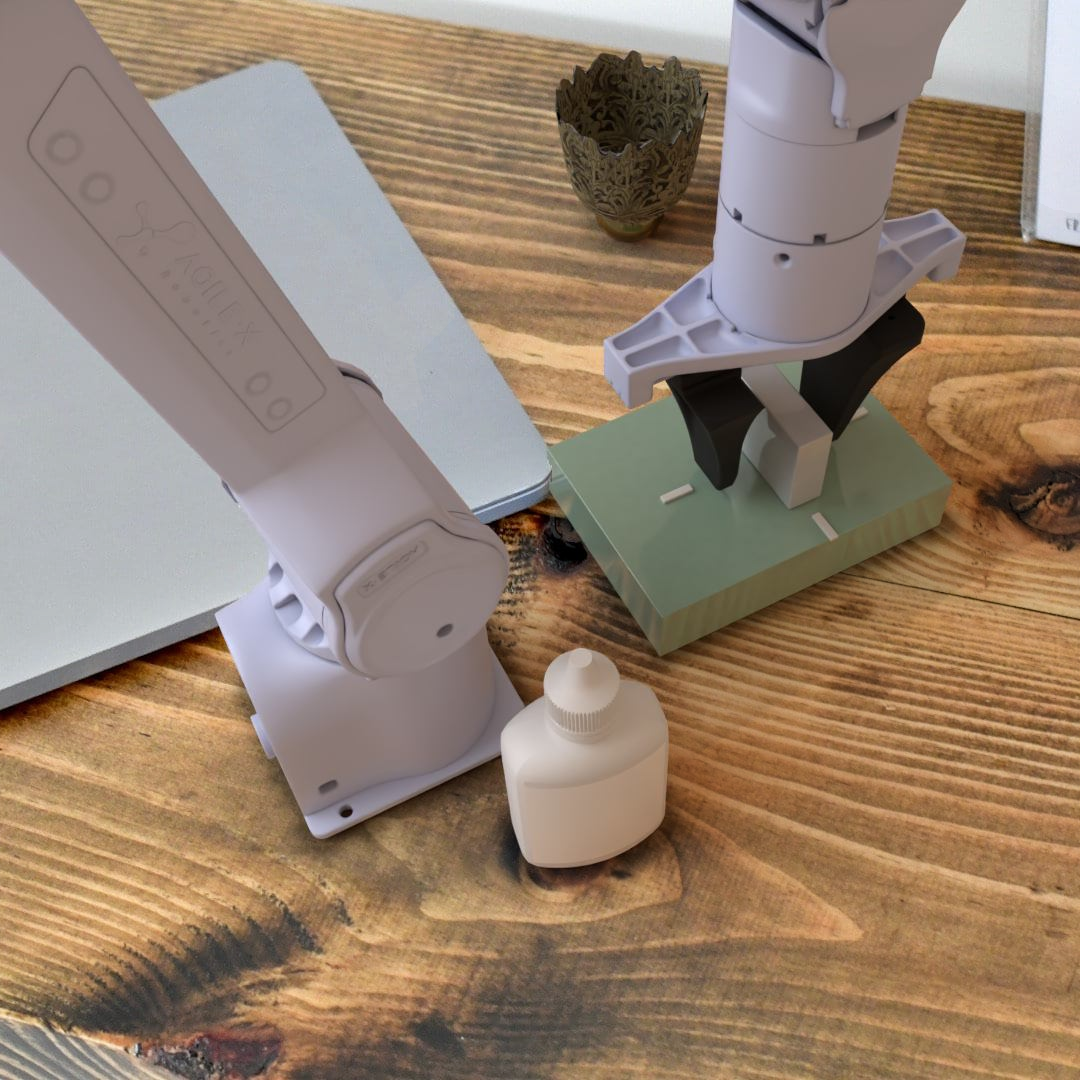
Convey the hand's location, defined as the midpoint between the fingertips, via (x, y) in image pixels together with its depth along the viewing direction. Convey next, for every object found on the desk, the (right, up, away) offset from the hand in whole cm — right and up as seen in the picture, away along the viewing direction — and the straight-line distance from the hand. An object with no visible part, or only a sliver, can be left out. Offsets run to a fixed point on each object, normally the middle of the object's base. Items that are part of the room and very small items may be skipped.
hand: (766, 449), depth 55 cm
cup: (-5, +13, +14) cm, 20 cm away
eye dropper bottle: (-8, -15, -6) cm, 18 cm away
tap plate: (-1, -2, +3) cm, 4 cm away
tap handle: (0, 0, 0) cm, 0 cm away
